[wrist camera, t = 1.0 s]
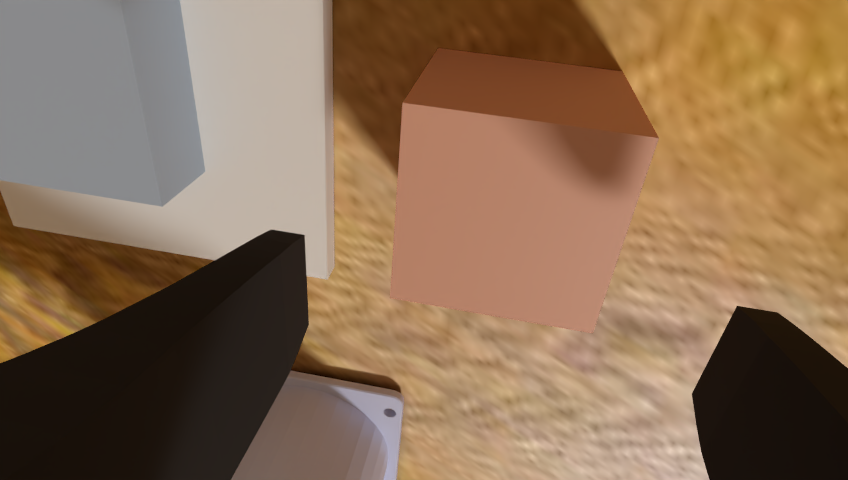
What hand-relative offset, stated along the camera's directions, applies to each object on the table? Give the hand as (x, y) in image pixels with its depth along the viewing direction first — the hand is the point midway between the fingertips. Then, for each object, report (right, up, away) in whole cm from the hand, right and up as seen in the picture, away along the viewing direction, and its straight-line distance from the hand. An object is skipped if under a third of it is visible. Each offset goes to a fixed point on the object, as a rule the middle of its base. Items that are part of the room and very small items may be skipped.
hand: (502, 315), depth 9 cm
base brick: (-11, +6, +7) cm, 14 cm away
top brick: (+1, +4, +7) cm, 8 cm away
